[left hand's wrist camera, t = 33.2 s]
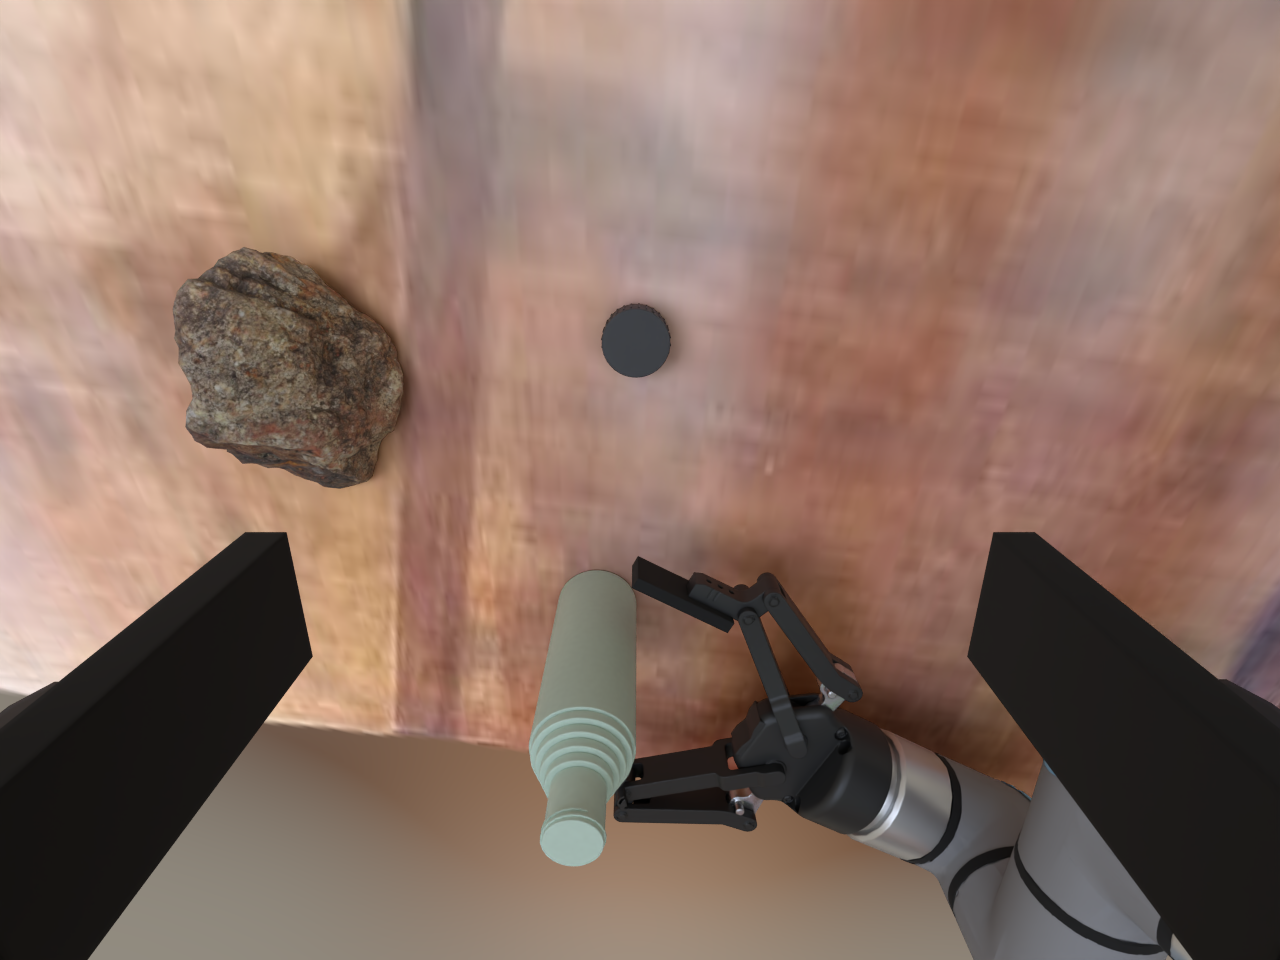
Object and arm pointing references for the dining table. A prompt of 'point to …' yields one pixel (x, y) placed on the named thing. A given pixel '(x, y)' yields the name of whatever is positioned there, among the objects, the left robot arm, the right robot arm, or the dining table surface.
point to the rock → (285, 369)
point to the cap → (636, 340)
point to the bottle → (585, 714)
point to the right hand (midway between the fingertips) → (583, 655)
